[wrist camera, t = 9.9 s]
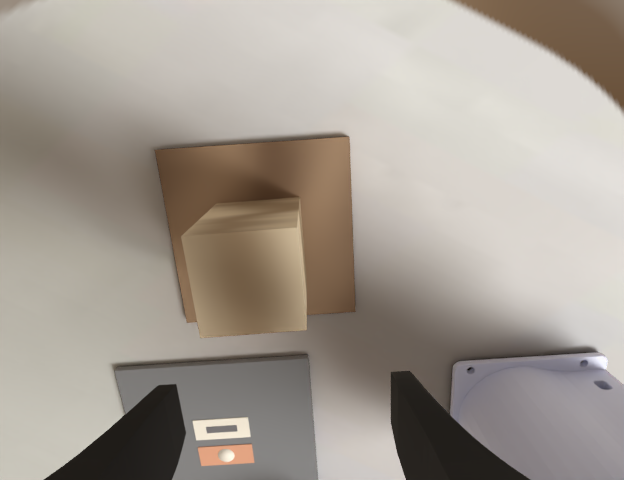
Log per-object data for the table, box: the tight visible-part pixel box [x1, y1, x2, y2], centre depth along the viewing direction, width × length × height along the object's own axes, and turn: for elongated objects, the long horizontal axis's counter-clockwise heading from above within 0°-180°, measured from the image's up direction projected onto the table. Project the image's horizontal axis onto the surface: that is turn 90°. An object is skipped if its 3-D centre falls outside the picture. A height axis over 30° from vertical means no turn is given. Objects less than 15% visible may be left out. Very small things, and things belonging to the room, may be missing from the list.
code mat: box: [114, 355, 318, 480], centre depth 25 cm, size 12×12×1 cm
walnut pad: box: [155, 137, 355, 323], centre depth 21 cm, size 10×10×1 cm
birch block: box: [181, 197, 307, 338], centre depth 18 cm, size 4×4×6 cm
